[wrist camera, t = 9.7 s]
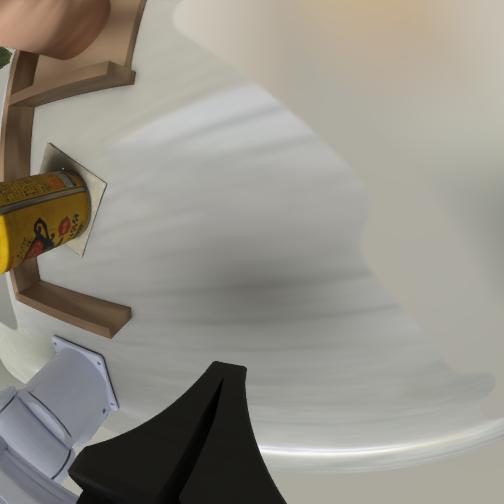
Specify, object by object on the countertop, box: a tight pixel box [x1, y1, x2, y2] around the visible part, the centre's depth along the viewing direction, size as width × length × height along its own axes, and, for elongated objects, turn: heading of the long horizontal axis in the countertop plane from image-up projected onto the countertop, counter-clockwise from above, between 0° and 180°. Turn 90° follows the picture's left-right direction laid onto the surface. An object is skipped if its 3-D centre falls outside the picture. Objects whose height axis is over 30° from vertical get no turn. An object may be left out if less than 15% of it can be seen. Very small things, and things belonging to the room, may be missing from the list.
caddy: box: [0, 0, 146, 339], centre depth 13 cm, size 33×14×10 cm, turn 174°
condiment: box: [0, 142, 106, 274], centre depth 14 cm, size 7×8×12 cm
